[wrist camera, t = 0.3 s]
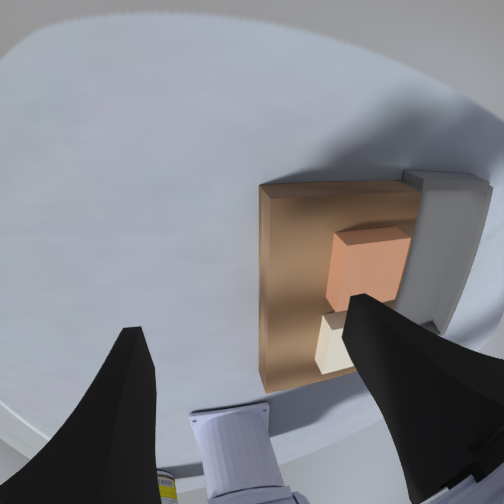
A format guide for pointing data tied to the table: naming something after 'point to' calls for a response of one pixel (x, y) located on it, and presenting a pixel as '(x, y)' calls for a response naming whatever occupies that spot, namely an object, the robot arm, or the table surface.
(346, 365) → the tile cream
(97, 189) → the table surface
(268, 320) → the plate
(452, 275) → the box
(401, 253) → the tile terracotta
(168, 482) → the supplement bottle
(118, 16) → the table surface
